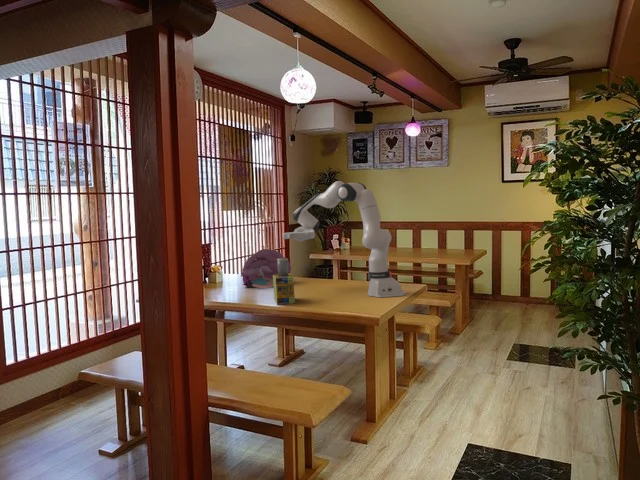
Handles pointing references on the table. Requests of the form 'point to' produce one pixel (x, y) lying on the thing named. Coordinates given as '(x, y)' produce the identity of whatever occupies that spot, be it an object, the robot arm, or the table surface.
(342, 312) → the table surface
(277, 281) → the protein box
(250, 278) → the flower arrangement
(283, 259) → the tumbler
